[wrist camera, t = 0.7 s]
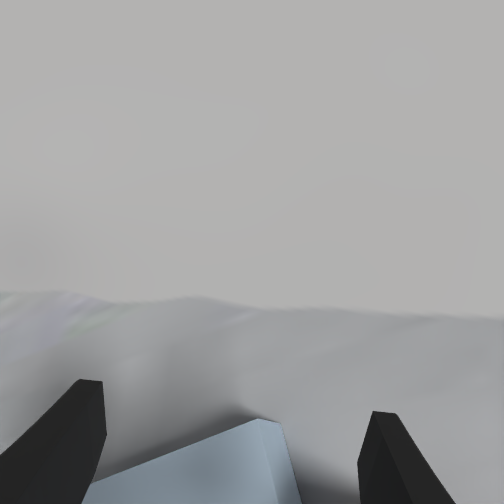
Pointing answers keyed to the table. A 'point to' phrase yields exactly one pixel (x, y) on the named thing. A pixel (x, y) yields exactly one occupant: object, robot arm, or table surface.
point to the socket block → (210, 472)
